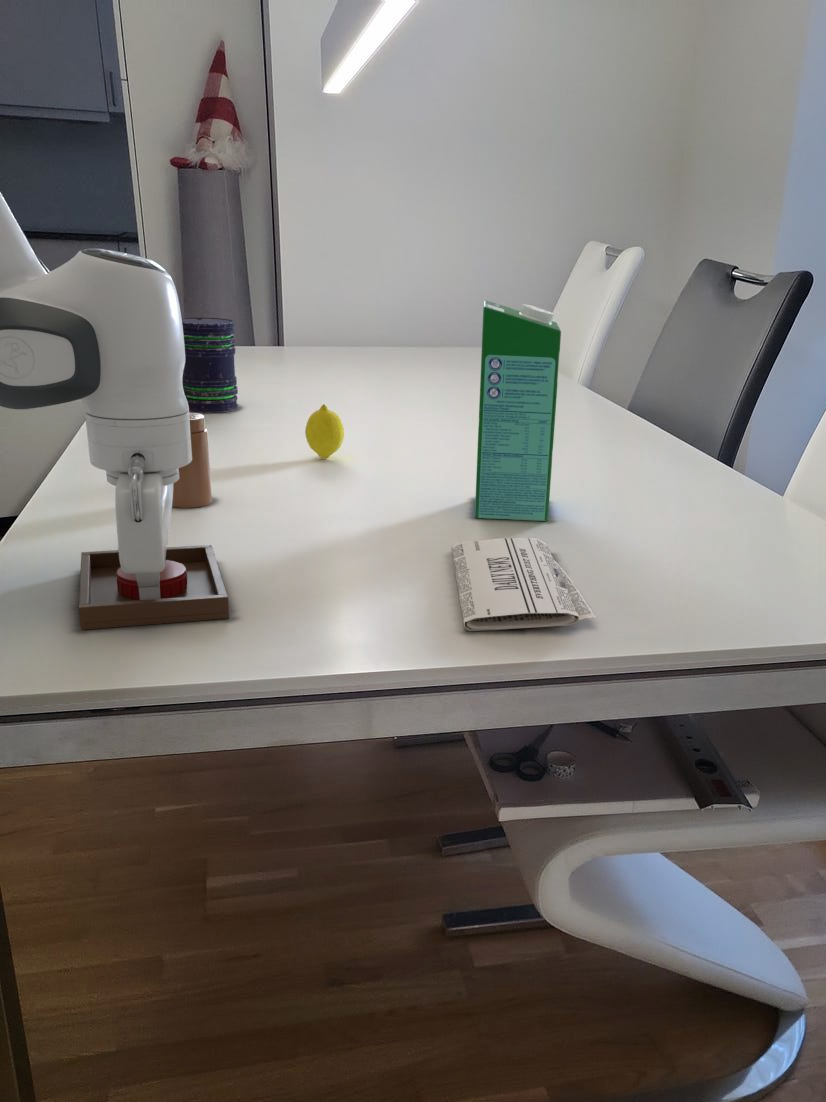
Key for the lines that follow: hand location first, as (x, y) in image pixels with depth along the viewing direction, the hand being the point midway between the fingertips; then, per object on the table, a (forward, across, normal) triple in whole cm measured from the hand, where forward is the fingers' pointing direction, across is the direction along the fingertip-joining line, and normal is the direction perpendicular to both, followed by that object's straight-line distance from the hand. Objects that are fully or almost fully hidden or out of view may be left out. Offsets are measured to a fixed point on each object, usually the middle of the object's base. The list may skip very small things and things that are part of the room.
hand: (152, 587), depth 98 cm
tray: (+1, 0, 0) cm, 1 cm away
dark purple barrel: (+1, +95, -5) cm, 95 cm away
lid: (-1, 0, 0) cm, 1 cm away
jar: (+1, +33, -3) cm, 33 cm away
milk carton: (+1, +26, -42) cm, 50 cm away
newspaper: (+1, -3, -35) cm, 35 cm away
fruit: (+1, +55, -22) cm, 59 cm away
